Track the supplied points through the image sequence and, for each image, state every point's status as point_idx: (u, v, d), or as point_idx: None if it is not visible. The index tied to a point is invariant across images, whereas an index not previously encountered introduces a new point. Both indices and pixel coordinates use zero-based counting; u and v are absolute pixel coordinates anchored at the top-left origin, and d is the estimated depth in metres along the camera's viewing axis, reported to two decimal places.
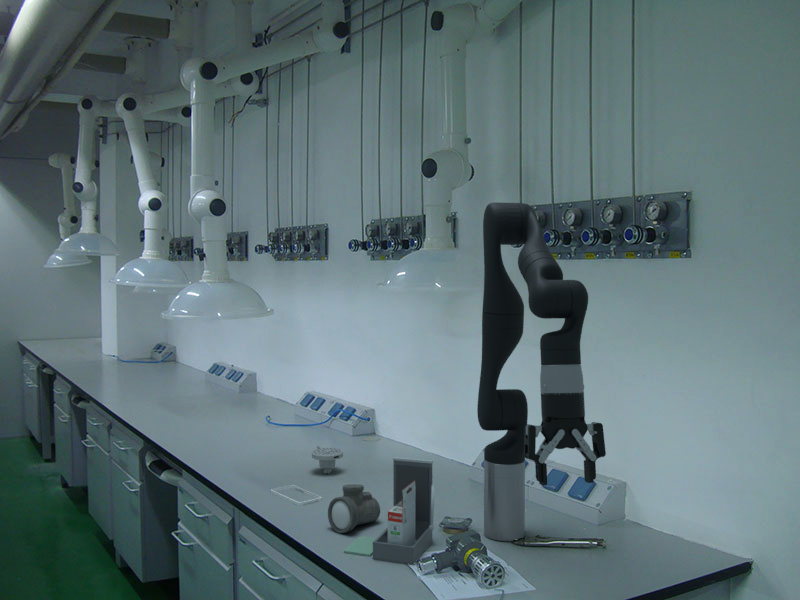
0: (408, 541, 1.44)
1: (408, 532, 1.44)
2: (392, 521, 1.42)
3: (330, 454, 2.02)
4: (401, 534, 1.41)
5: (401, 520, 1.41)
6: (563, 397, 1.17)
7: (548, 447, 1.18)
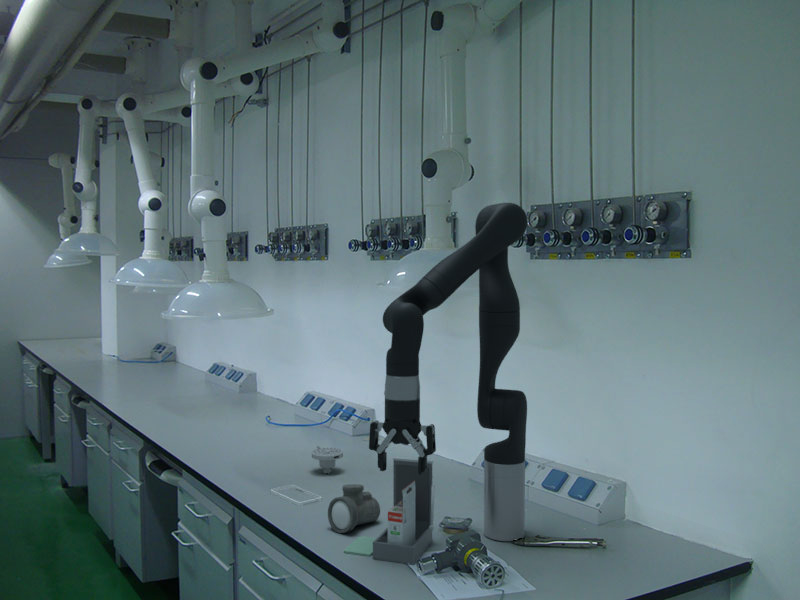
0: (408, 541, 1.44)
1: (408, 532, 1.44)
2: (392, 521, 1.42)
3: (330, 454, 2.02)
4: (401, 534, 1.41)
5: (401, 520, 1.41)
6: (391, 403, 1.41)
7: (383, 441, 1.44)
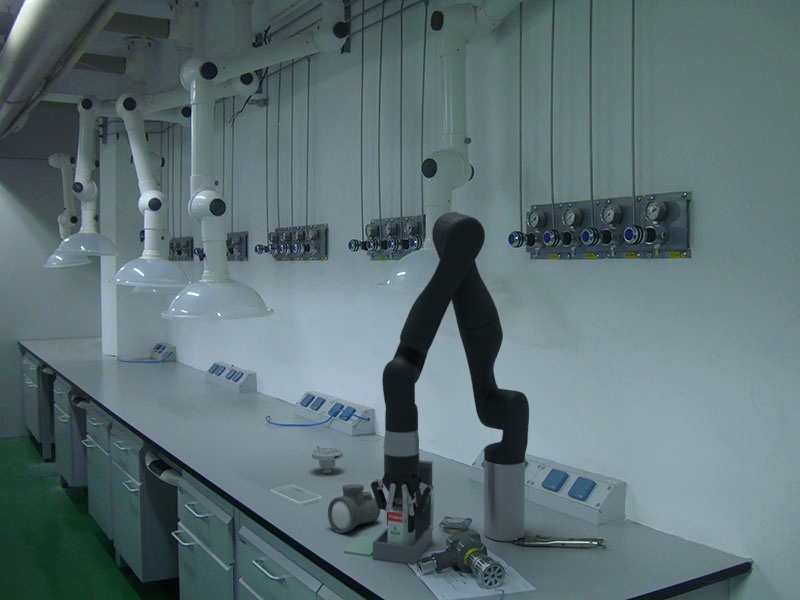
0: (408, 541, 1.44)
1: (408, 532, 1.44)
2: (392, 521, 1.42)
3: (330, 454, 2.02)
4: (401, 534, 1.41)
5: (401, 520, 1.41)
6: (390, 459, 1.42)
7: (388, 500, 1.44)
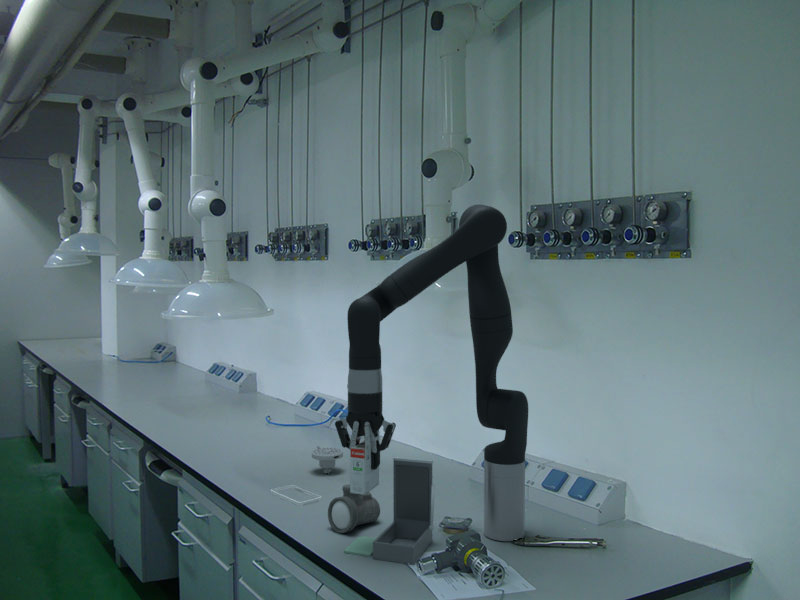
0: (371, 478, 1.46)
1: (370, 469, 1.46)
2: (355, 457, 1.44)
3: (330, 454, 2.02)
4: (363, 470, 1.43)
5: (363, 456, 1.43)
6: (353, 396, 1.44)
7: (351, 437, 1.46)
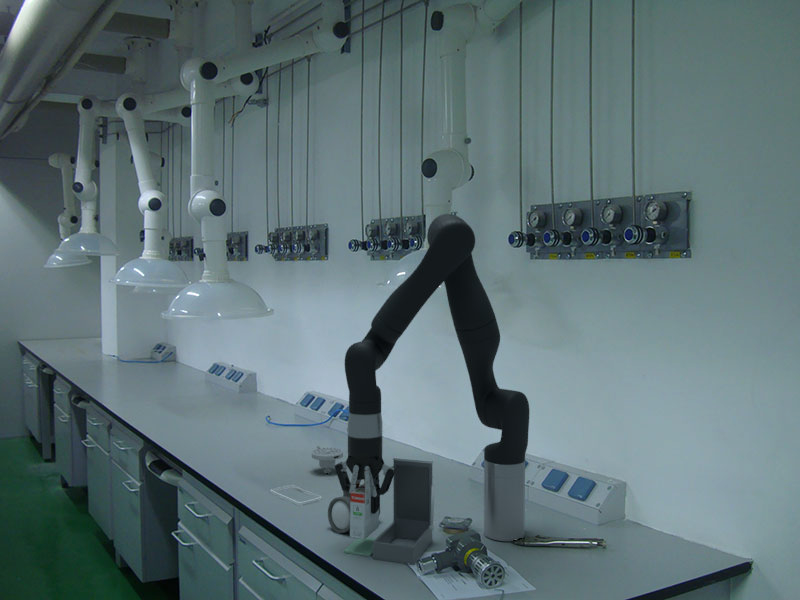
0: (370, 522, 1.46)
1: (370, 513, 1.46)
2: (355, 502, 1.44)
3: (330, 454, 2.02)
4: (363, 515, 1.43)
5: (363, 501, 1.43)
6: (353, 440, 1.44)
7: (351, 481, 1.47)
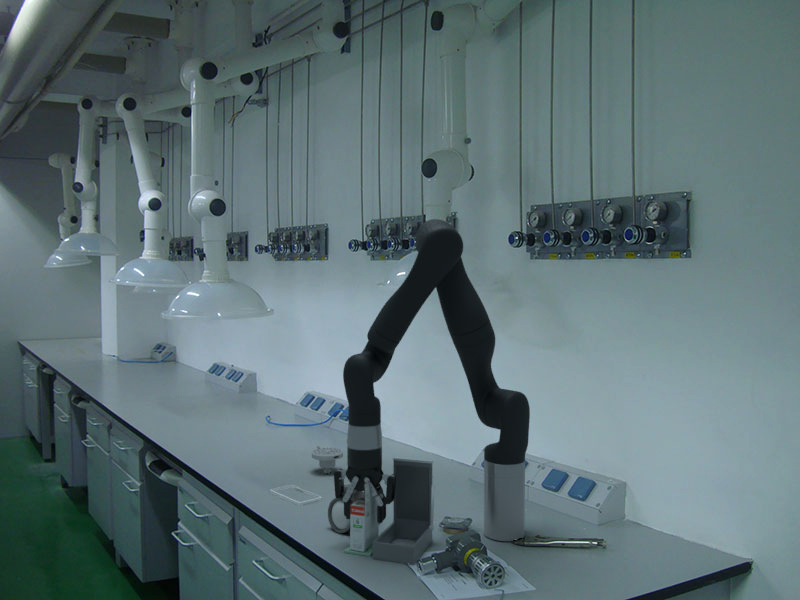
0: (370, 534, 1.47)
1: (370, 526, 1.46)
2: (355, 514, 1.44)
3: (330, 454, 2.02)
4: (363, 527, 1.44)
5: (363, 513, 1.44)
6: (353, 452, 1.45)
7: (347, 490, 1.47)
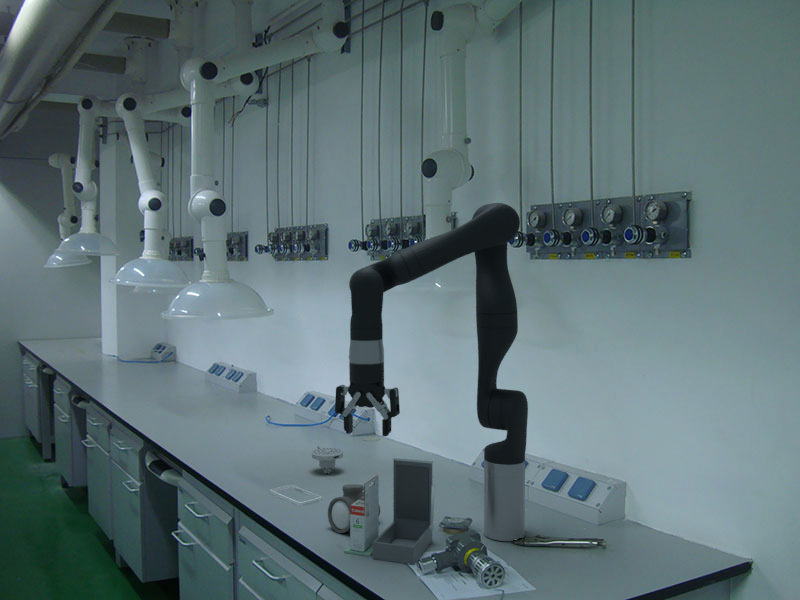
0: (370, 534, 1.47)
1: (370, 525, 1.46)
2: (355, 514, 1.44)
3: (330, 454, 2.02)
4: (363, 527, 1.44)
5: (363, 513, 1.44)
6: (354, 367, 1.44)
7: (348, 405, 1.47)
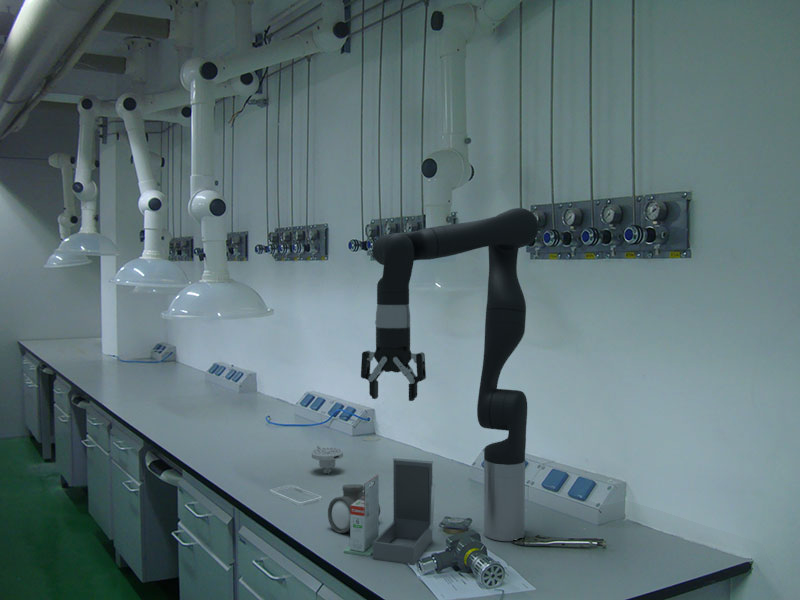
0: (370, 534, 1.47)
1: (370, 526, 1.46)
2: (355, 514, 1.44)
3: (330, 454, 2.02)
4: (363, 527, 1.44)
5: (363, 513, 1.44)
6: (382, 331, 1.45)
7: (374, 369, 1.48)
